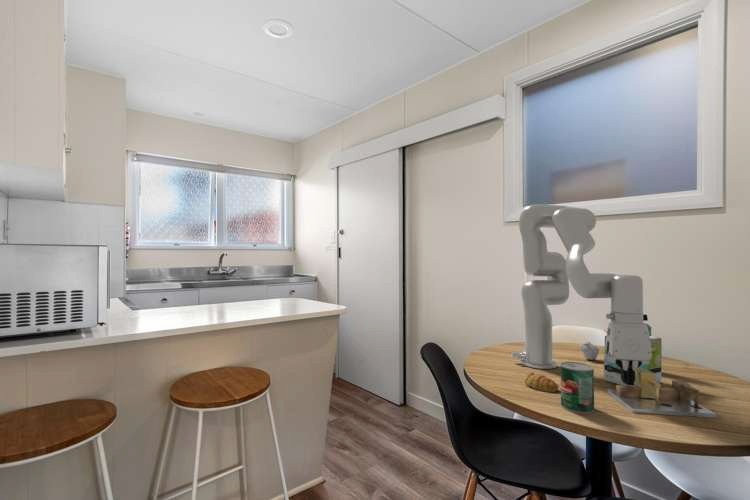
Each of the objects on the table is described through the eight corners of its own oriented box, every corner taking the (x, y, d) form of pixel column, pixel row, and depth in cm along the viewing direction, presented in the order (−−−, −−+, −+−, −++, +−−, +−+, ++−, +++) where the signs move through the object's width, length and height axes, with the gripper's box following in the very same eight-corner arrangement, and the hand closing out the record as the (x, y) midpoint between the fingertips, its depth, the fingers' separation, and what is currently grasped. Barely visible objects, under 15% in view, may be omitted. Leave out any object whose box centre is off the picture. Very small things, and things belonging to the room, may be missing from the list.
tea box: (636, 390, 111) (636, 341, 112) (603, 380, 120) (602, 335, 121) (662, 382, 118) (662, 336, 119) (629, 374, 127) (628, 331, 128)
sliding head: (650, 403, 97) (650, 378, 98) (634, 392, 106) (633, 369, 106) (665, 404, 97) (665, 378, 97) (647, 393, 105) (647, 369, 105)
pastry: (563, 390, 111) (563, 377, 111) (551, 395, 107) (551, 382, 108) (534, 382, 119) (534, 370, 119) (522, 386, 115) (522, 374, 115)
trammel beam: (629, 403, 98) (629, 386, 98) (614, 392, 106) (614, 377, 107) (702, 408, 95) (702, 390, 96) (681, 396, 104) (681, 380, 104)
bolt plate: (632, 412, 95) (632, 408, 95) (607, 393, 109) (607, 389, 109) (716, 418, 92) (716, 413, 92) (679, 397, 106) (679, 393, 106)
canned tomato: (600, 409, 97) (599, 367, 97) (584, 416, 92) (584, 372, 93) (570, 399, 103) (570, 360, 104) (554, 405, 99) (554, 364, 99)
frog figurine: (578, 357, 150) (578, 339, 150) (598, 358, 147) (597, 341, 147) (581, 360, 144) (580, 342, 144) (601, 362, 141) (601, 344, 142)
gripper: (604, 319, 102) (605, 386, 102) (664, 321, 100) (665, 389, 99) (593, 315, 110) (593, 378, 109) (648, 317, 107) (649, 381, 107)
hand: (628, 383), depth 104 cm, fingers closed
